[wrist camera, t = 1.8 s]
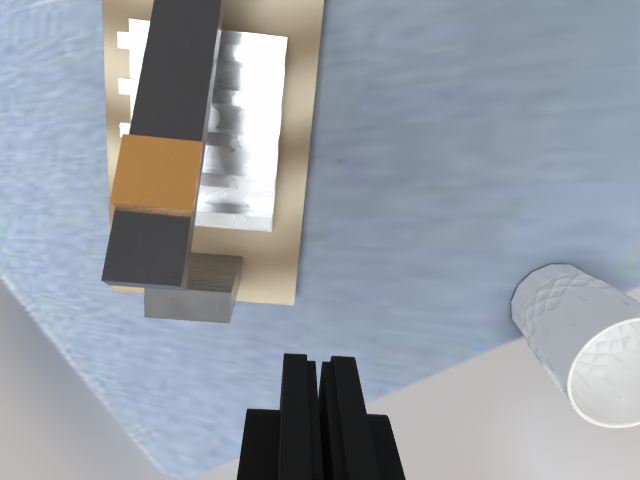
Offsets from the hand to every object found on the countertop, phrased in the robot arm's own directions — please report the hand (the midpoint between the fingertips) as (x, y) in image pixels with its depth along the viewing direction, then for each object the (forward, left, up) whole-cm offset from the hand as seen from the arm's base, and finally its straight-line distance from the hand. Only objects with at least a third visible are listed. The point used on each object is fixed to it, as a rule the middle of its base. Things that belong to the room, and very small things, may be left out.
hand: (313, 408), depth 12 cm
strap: (-6, -6, -14) cm, 16 cm away
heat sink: (-4, -6, -23) cm, 24 cm away
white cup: (+8, +21, -25) cm, 33 cm away
